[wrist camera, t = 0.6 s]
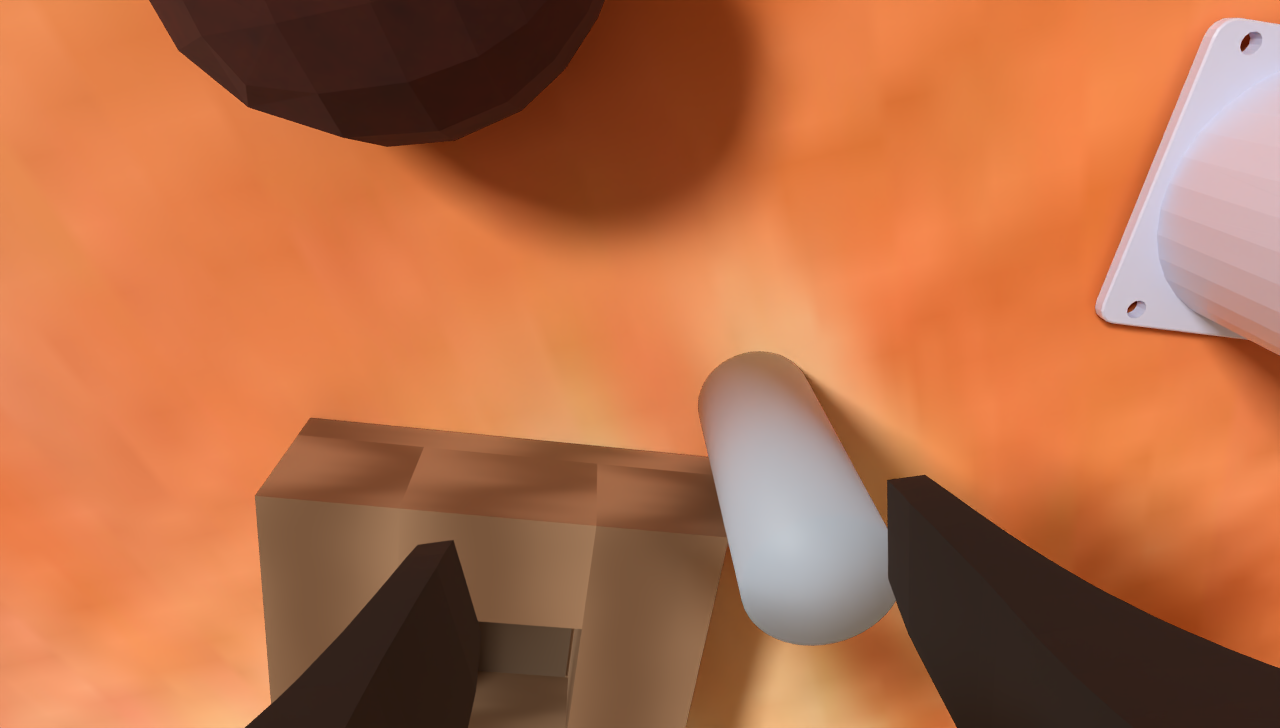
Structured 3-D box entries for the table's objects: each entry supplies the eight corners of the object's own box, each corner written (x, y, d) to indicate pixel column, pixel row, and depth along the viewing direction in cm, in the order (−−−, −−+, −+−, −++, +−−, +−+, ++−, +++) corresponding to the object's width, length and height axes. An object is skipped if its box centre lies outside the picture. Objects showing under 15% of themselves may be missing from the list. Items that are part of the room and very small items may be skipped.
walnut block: (710, 457, 24) (729, 538, 20) (653, 731, 29) (660, 836, 25) (310, 418, 23) (254, 495, 19) (322, 710, 28) (280, 816, 24)
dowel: (822, 358, 23) (924, 523, 16) (796, 457, 24) (879, 650, 17) (708, 345, 22) (758, 508, 15) (689, 446, 24) (726, 639, 17)
